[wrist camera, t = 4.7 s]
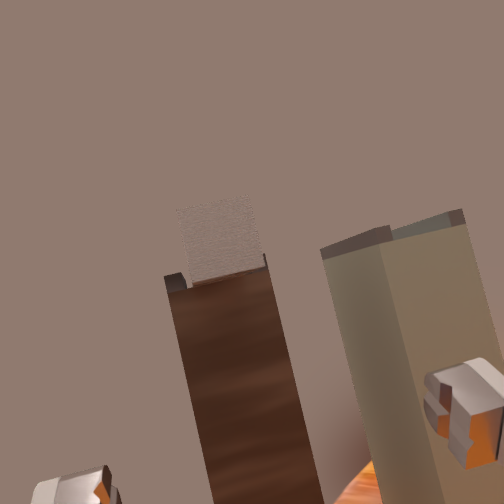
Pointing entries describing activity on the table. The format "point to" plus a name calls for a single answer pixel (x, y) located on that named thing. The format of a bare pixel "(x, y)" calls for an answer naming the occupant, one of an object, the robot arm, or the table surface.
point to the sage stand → (413, 349)
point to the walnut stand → (243, 391)
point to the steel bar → (220, 240)
